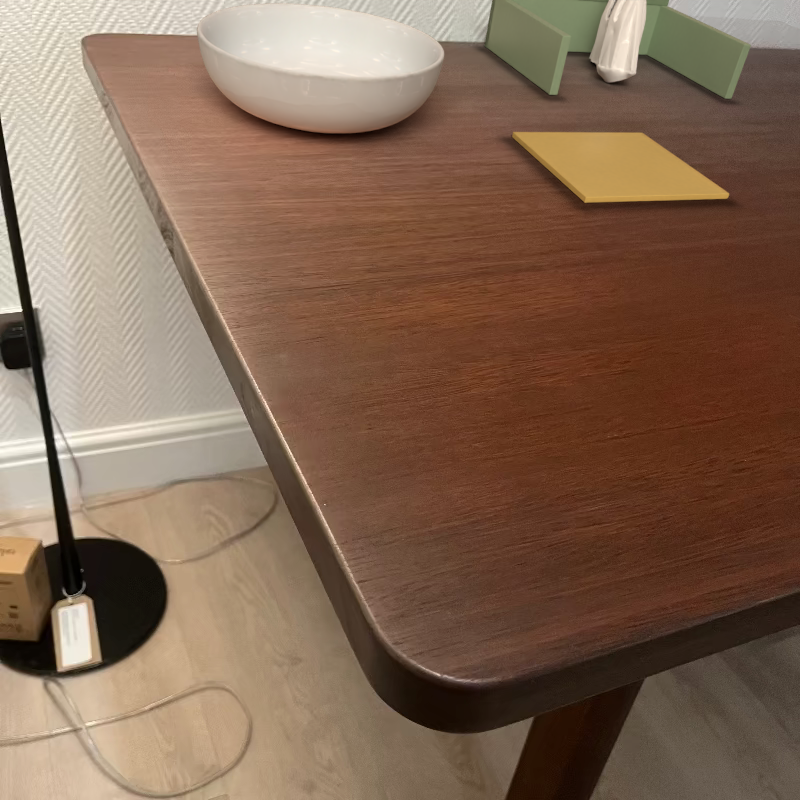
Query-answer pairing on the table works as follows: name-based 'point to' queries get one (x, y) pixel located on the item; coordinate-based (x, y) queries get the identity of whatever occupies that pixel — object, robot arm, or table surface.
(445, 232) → the table surface
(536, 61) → the cubby
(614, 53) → the white ridged piece
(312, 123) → the serving bowl
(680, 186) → the board
